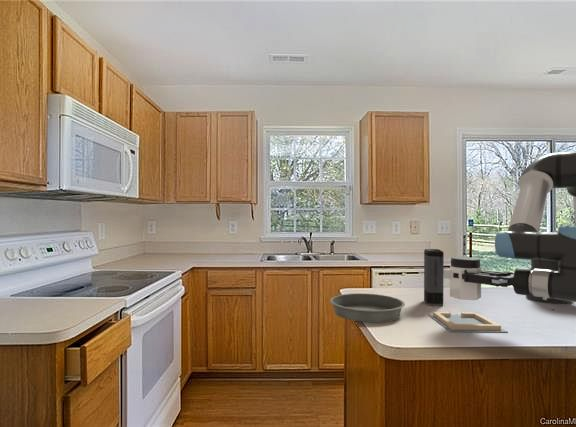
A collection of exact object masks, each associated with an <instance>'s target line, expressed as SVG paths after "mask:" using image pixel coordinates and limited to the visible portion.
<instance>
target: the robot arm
mask: <svg viewBox="0 0 576 427" xmlns="http://www.w3.org/2000/svg"><path fill="white" fill-rule="evenodd" d="M518 187H519V192H518V195H517V199H516V202H515V205H514V208H513V211H512V215H511V219H510V222H509V223H508V224H509V226H508V228H507V230H500V231H498V232H496V234H495V237H494V238H495V239H494V250H495V253H496V255H497V256H498V257H500V258H507V259H511V260H512V259H513V260H514V259H516V260H517V259H518V260H530V263H531V265H530V266H531V268H530V267H520V266H519V267H516V268H515V270H514V272H513V271H511V272H510V271H498V270H497V271H496V270H488V269H487V270H486V269H481V273H468V272H467V270H464V274H462V279H464V282H471V283H478V284H481V285H488V286H494V287H496V288H498V287H502V288H508V287H510V286H512V287H513V291H514V293H515V294H516V295H520V296H521V295H522V296H525V297H526V298H527V299H528V300H533V301H536V302H543V303H548V304H549V303H550V304H571V303H573V302H574V303H576V225H559V226H558V230H557V231H552V232H551V231H540V229H541V225H542V220H543V214H544V211H545V207H546V201H547V198H548V194H549V193H550V192H551V191H552V190H553V189H566V191H567V193H568V195H569V196H572V197H573V208H574V209H573V210H574V220H575V224H576V151H566V152H565V151H564V152H552V153H547V154H545V155H543V156H541V157H538V158H537V159H535V160H534V161H533V162H531V163H529V165H527V166H526V168H525V169H524V170H523V172H522V173H521V175H520V177H519V179H518ZM458 275H459V274H458V273H453V270H450V268H449V269H446V268H444V274H443V279H448V280H450V279H453V278H459V277H458Z"/></svg>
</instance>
